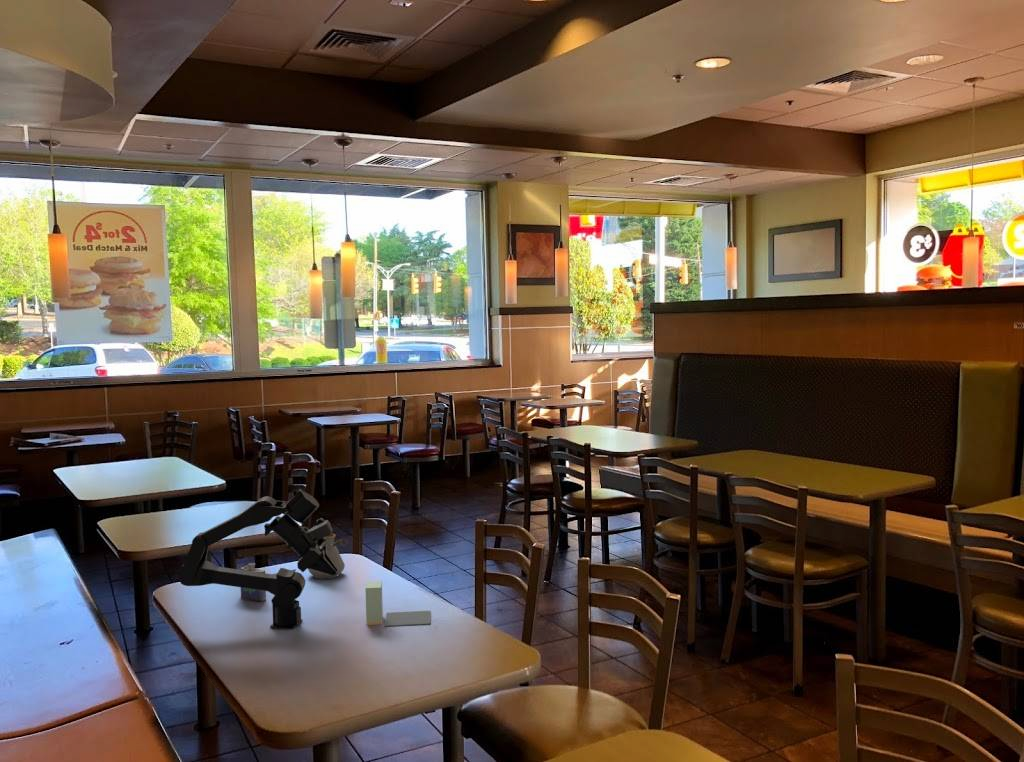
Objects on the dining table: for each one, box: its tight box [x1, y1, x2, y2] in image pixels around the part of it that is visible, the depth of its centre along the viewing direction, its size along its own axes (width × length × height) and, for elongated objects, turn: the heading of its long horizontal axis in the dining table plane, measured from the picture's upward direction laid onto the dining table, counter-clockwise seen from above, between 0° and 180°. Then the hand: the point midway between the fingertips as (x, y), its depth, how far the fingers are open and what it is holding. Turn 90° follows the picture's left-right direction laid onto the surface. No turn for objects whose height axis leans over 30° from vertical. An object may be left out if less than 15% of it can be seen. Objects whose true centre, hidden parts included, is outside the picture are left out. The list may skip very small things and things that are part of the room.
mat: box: [384, 610, 431, 627], centre depth 232 cm, size 12×10×1 cm
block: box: [364, 580, 384, 626], centre depth 231 cm, size 4×6×10 cm, turn 6°
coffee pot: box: [307, 533, 348, 580], centre depth 268 cm, size 21×12×15 cm, turn 34°
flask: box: [239, 562, 267, 603], centre depth 250 cm, size 9×3×11 cm, turn 61°
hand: (336, 572), depth 229 cm, fingers open, 2 cm apart
